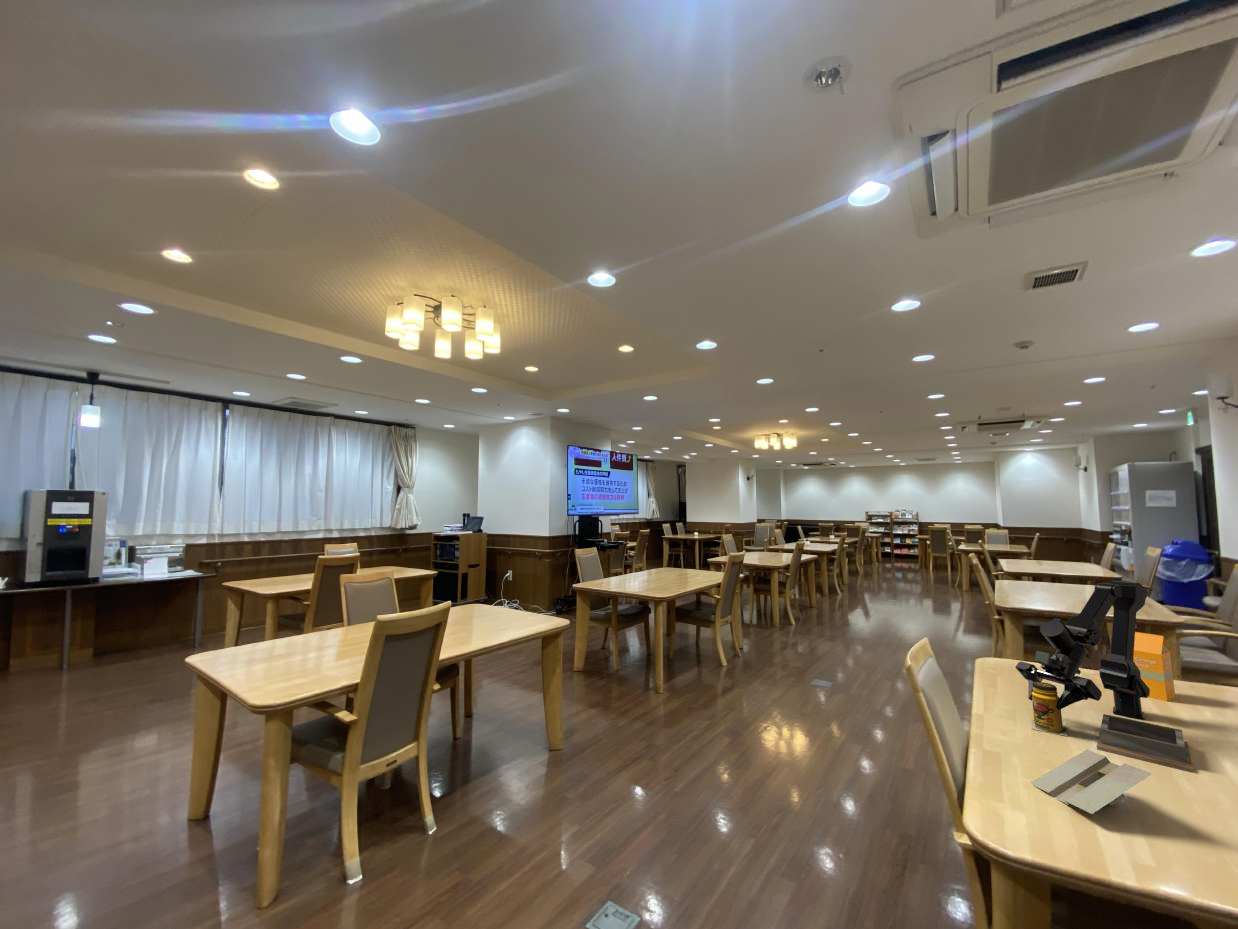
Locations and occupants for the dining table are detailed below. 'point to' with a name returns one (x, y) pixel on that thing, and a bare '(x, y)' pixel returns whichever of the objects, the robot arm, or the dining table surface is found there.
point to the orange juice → (1154, 665)
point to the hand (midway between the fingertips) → (1043, 704)
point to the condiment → (1046, 709)
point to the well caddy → (1144, 742)
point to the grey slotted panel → (1090, 781)
